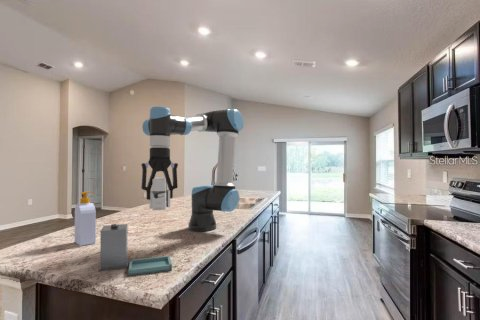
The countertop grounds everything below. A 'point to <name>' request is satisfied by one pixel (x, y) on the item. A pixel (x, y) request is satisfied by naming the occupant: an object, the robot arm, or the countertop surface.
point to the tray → (150, 265)
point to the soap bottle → (85, 221)
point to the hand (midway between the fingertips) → (159, 207)
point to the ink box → (159, 194)
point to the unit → (114, 247)
